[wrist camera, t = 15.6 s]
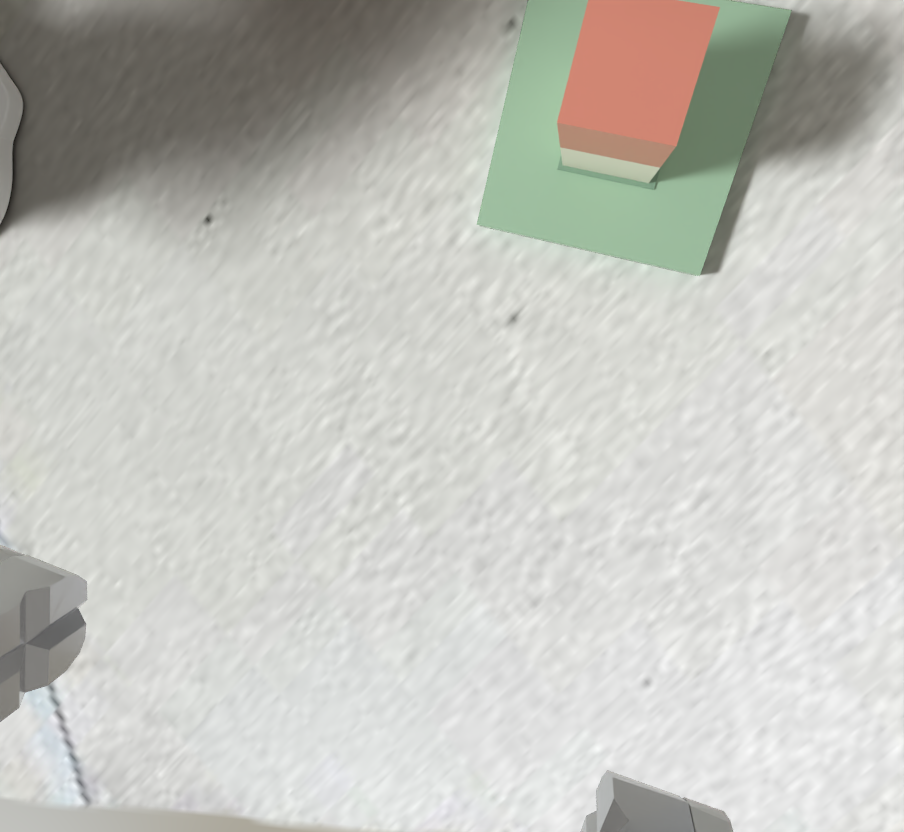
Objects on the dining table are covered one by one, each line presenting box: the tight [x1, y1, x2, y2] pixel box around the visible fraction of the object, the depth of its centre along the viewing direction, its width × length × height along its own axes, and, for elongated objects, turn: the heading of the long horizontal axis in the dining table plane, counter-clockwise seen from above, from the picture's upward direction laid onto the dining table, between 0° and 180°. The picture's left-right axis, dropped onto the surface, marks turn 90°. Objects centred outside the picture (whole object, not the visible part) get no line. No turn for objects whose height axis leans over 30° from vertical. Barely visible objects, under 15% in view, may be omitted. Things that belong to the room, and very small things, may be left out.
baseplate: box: [477, 0, 792, 276], centre depth 31 cm, size 13×13×1 cm
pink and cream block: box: [557, 0, 720, 183], centre depth 26 cm, size 5×5×9 cm
